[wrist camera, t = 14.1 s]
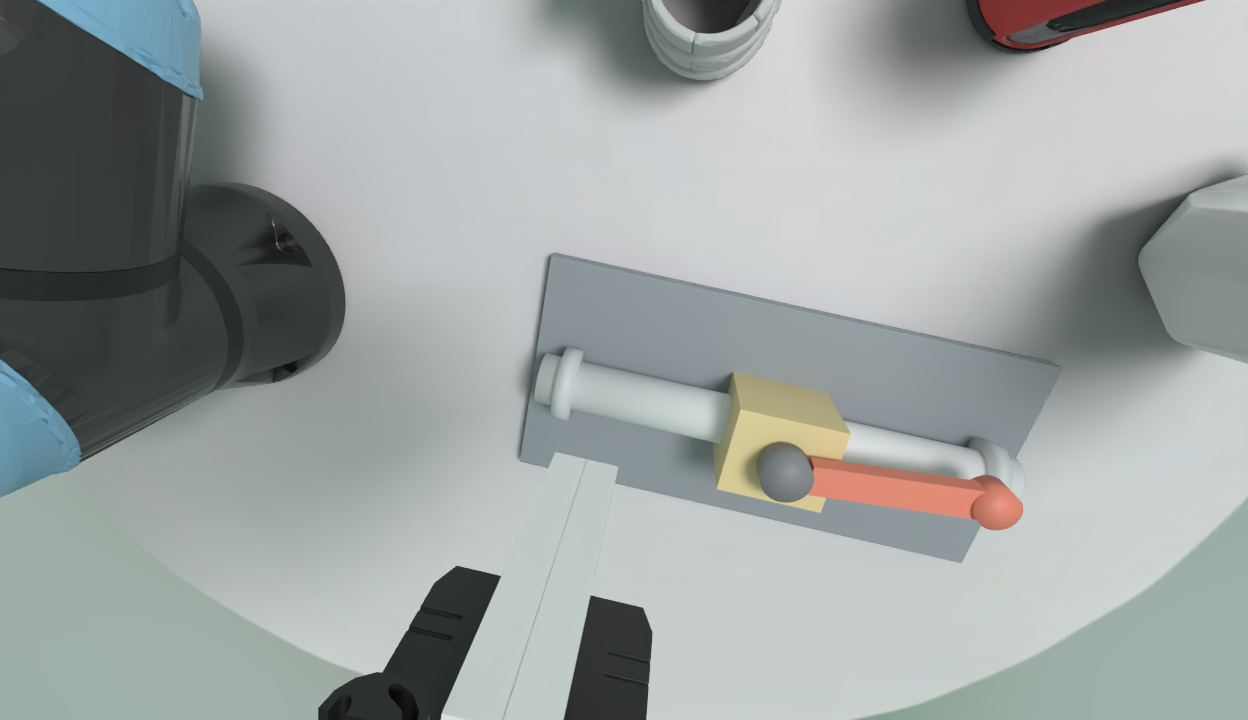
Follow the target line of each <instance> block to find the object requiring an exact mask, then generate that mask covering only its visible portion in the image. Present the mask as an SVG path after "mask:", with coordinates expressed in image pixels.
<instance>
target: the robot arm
mask: <svg viewBox="0 0 1248 720" xmlns="http://www.w3.org/2000/svg"><path fill="white" fill-rule="evenodd" d="M200 46H201V21H200V16H199V13H198V10H197V8H196V6H195V4H194V2H193V0H0V497H2V496H4V495H7V494H10V493H12V492H14V491H16V490H18V489H21V488H23V487H25V486H27V485H29V484H32V483H34V482H36V481H38V480H40V479H43V478H45V477H47V476H49V475H51V474H58V473H61V472H67V471H69V470H71V469H72V468H74V467H75V466H77V465H78V464H79V463H80V462H82V461H84V460H86V459H88V458H90V457H92V456H94V455H95V454H97V453H99V452H101V451H103V450H105V449H107V448H108V447H110V446H112V445H114V444H116V443H118V442H120V441H121V440H123V439H125V438H127V437H129V436H131V435H133V434H134V433H136V432H138V431H140V430H142V429H144V428H146V427H147V426H149V425H151V424H153V423H155V422H157V421H159V420H161V419H162V418H164V417H166V416H168V415H170V414H172V413H174V412H175V411H177V410H179V409H181V408H183V407H185V406H187V405H188V404H190V403H192V402H194V401H196V400H198V399H199V398H201V397H203V396H205V395H207V394H209V393H211V392H213V391H215V390H220V389H229V388H237V387H245V386H254V385H262V384H270V383H275V382H279V381H282V380H285V379H288V378H291V377H293V376H295V375H297V374H299V373H300V372H302V371H304V370H306V369H307V368H309V367H311V366H312V365H314V364H316V363H317V362H318V361H320V360H321V359H322V358H323V357H324V356H325V355H326V354H327V353H328V352H329V351H330V350H331V348H332V347H333V345H334V344H335V342H336V340H337V338H338V336H339V334H340V331H341V328H342V325H343V320H344V314H345V293H344V286H343V282H342V277H341V274H340V271H339V268H338V265H337V263H336V260H335V258H334V256H333V254H332V252H331V250H330V248H329V247H328V245H327V243H326V242H325V240H324V239H323V237H322V236H321V234H320V233H319V232H318V231H317V229H316V228H315V227H314V226H313V225H312V224H311V222H310V221H309V220H308V219H307V218H306V217H305V216H304V215H302V214H301V213H300V212H299V211H298V210H297V209H295V208H294V207H293V206H291V205H290V204H289V203H287V202H286V201H284V200H282V199H281V198H279V197H277V196H275V195H273V194H271V193H269V192H267V191H265V190H262V189H259V188H256V187H253V186H249V185H244V184H237V183H217V184H205V185H196V186H190V187H189V181H190V172H191V164H192V155H193V147H194V138H195V130H196V121H197V112H198V104H199V100H202V101H203V96H204V94H203V90H202V88H201V87H200V86H199V75H200ZM617 471H618V466H614V465H610V464H605V463H601V462H597V461H592V460H588V459H584V458H579V457H575V456H571V455H566V454H562V453H557V452H555V454H554V456H553V458H552V461H551V463H550V465H549V468H548V470H547V472H546V475H545V477H544V479H543V481H542V484H541V486H540V488H539V491H538V493H537V495H536V498H535V500H534V502H533V504H532V507H531V509H530V511H529V514H528V516H527V518H526V521H525V523H524V525H523V527H522V530H521V532H520V534H519V537H518V539H517V541H516V544H515V546H514V548H513V550H512V553H511V555H510V557H509V560H508V562H507V564H506V567H505V569H504V571H503V574H502V576H498V575H494V574H490V573H486V572H481V571H477V570H473V569H469V568H464V567H460V566H456V567H455V568H453V569H452V570H451V571H449V572H448V573H447V574H445V575H444V576H443V577H442V578H440V579H439V580H438V581H436V582H435V583H434V585H433V586H432V588H431V590H430V592H429V593H428V595H427V597H426V598H425V600H424V602H423V604H422V605H421V608H420V611H418V612H417V614H416V616H415V617H414V619H413V621H412V623H411V624H410V626H409V630H408V631H406V633H405V635H404V636H403V638H402V640H401V641H400V643H399V645H398V647H397V648H396V650H395V652H394V654H393V655H392V657H391V659H390V660H389V662H388V664H387V666H386V667H385V669H384V671H383V672H382V673H379V672H376V673H373V674H369V675H365V676H361V677H357V678H354V679H353V680H351V681H349V682H348V683H346V684H344V685H343V686H341V687H339V688H338V689H336V690H334V692H333V693H332V694H331V695H330V696H329V697H328V698H327V699H326V700H325V701H324V702H323V704H322V705H321V706H320V707H319V708H318V710H319V711H318V714H319V715H318V716H319V717H318V718H319V719H318V720H646V714H647V701H648V683H649V673H650V659H651V646H652V630H651V628H650V625H649V622H648V620H647V617H646V614H645V612H644V609H643V608H641V607H637V606H633V605H629V604H625V603H620V602H616V601H612V600H608V599H603V598H599V597H595V596H591V591H592V586H593V582H594V577H595V573H596V568H597V563H598V559H599V554H600V549H601V545H602V540H603V536H604V531H605V526H606V522H607V517H608V513H609V508H610V503H611V499H612V494H613V490H614V485H615V480H616V476H617Z"/></svg>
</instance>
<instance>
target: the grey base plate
mask: <svg viewBox="0 0 1248 720" xmlns="http://www.w3.org/2000/svg"><path fill="white" fill-rule="evenodd" d="M1061 370H1062V368H1061V367H1060V366H1058V365H1056V364H1055V363H1053V362H1050V361H1045V360H1041V359H1036V358H1032V357H1027V356H1022V355H1018V354H1013V353H1009V352H1004V351H1000V350H995V349H991V348H986V347H982V346H977V345H972V344H968V343H963V342H959V341H954V340H950V339H945V338H941V337H936V336H931V335H927V334H922V333H918V332H913V331H909V330H904V329H900V328H895V327H891V326H886V325H881V324H877V323H872V322H868V321H863V320H859V319H854V318H850V317H845V316H840V315H836V314H831V313H827V312H822V311H818V310H813V309H809V308H804V307H799V306H795V305H790V304H786V303H781V302H777V301H772V300H768V299H763V298H759V297H754V296H749V295H745V294H740V293H736V292H731V291H727V290H722V289H718V288H713V287H708V286H704V285H699V284H695V283H690V282H686V281H681V280H677V279H672V278H668V277H663V276H658V275H654V274H649V273H645V272H640V271H636V270H631V269H627V268H622V267H617V266H613V265H608V264H604V263H599V262H595V261H590V260H586V259H581V258H576V257H572V256H567V255H563V254H558V253H554V254H553V255H551V260H550V266H549V273H548V279H547V286H546V292H545V299H544V306H543V312H542V319H541V325H540V332H539V339H538V345H537V352H536V358H535V365H534V371H533V378H532V385H531V391H530V398H529V404H528V411H527V417H526V424H525V431H524V437H523V444H522V450H521V457H520V462H525V463H529V464H533V465H538V466H542V467H546V468H549V465H550V463H551V461H552V458H553V456H554V454H555V452H557V453H562V454H566V455H571V456H575V457H579V458H584V459H588V460H592V461H597V462H601V463H605V464H610V465H614V466H618V471H617V476H616V480H615V483H616V484H620V485H625V486H629V487H633V488H638V489H642V490H646V491H651V492H655V493H659V494H664V495H668V496H672V497H677V498H681V499H685V500H690V501H694V502H698V503H703V504H707V505H711V506H716V507H720V508H724V509H729V510H733V511H737V512H742V513H746V514H750V515H755V516H759V517H763V518H768V519H772V520H776V521H781V522H785V523H789V524H794V525H798V526H803V527H807V528H811V529H816V530H820V531H824V532H829V533H833V534H837V535H842V536H846V537H850V538H855V539H859V540H863V541H868V542H872V543H876V544H881V545H885V546H889V547H894V548H898V549H902V550H907V551H911V552H915V553H920V554H924V555H928V556H933V557H937V558H941V559H946V560H950V561H954V562H959V563H962V561H963V559H964V557H965V555H966V553H967V551H968V550H969V548H970V546H971V544H972V542H973V540H974V538H975V536H976V534H977V532H978V530H979V528H980V526H981V525H980V524H979V523H978V521H977V520H975V519H968V518H961V517H954V516H947V515H941V514H934V513H927V512H920V511H913V510H906V509H900V508H893V507H886V506H879V505H872V504H865V503H858V502H852V501H845V500H838V499H831V498H824V497H817V496H811V495H806V496H805V497H804V498H802V499H800V500H798V501H795V502H790V503H783V502H778V501H775V500H773V499H771V498H769V497H768V496H767V495H766V494H765V493H764V492H763V490H762V488H761V485H760V480H759V475H758V471H757V460H758V458H759V455H760V454H761V453H762V451H763V450H765V449H766V448H767V447H769V446H771V445H773V444H776V443H790V444H794V445H796V446H798V447H799V448H801V449H802V450H803V451H804V453H805V454H806V456H807V458H808V461H810V457H813V458H820V459H827V460H834V461H841V462H848V463H856V464H863V465H870V466H877V467H884V468H891V469H898V470H905V471H912V472H919V473H926V474H933V475H940V476H947V477H954V478H961V479H968V480H971V479H972V478H974V477H977V476H981V475H992V476H995V477H997V478H999V479H1000V480H1001V481H1002V482H1003V483H1004V484H1005V485H1006V486H1007V487H1008V488H1009V489H1010V490H1011V491H1012V492H1013V493H1014V494H1015V495H1016V496H1017V498H1018V499H1019V500H1020V499H1021V497H1022V495H1023V492H1024V489H1025V472H1024V469H1023V467H1022V465H1021V463H1020V462H1019V461H1018V460H1016V457H1017V455H1018V453H1019V451H1020V449H1021V447H1022V445H1023V443H1024V441H1025V439H1026V438H1027V436H1028V434H1029V432H1030V430H1031V428H1032V426H1033V424H1034V422H1035V420H1036V418H1037V416H1038V414H1039V412H1040V410H1041V409H1042V407H1043V405H1044V403H1045V401H1046V399H1047V397H1048V395H1049V393H1050V391H1051V389H1052V387H1053V385H1054V383H1055V381H1056V380H1057V378H1058V376H1059V374H1060V372H1061Z"/></svg>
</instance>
